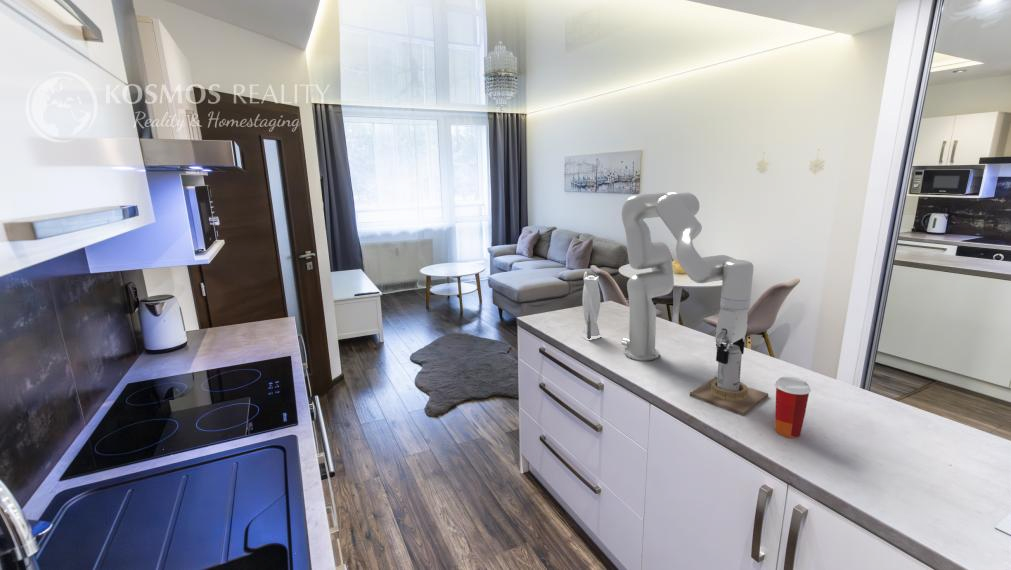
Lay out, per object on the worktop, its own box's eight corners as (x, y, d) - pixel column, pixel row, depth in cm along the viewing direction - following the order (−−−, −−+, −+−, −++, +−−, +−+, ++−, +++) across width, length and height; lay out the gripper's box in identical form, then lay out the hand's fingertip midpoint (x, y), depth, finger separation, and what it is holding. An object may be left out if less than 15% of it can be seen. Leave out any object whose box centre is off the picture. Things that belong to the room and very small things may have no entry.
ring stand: (689, 395, 135) (690, 385, 134) (715, 379, 145) (716, 369, 144) (743, 415, 123) (744, 404, 122) (768, 396, 132) (769, 385, 131)
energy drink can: (738, 399, 130) (741, 351, 126) (715, 395, 132) (718, 349, 129) (739, 390, 135) (742, 344, 131) (717, 386, 138) (720, 342, 134)
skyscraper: (577, 335, 192) (576, 272, 185) (592, 331, 195) (592, 269, 188) (588, 340, 184) (588, 275, 178) (604, 337, 187) (604, 273, 181)
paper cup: (800, 426, 117) (806, 377, 113) (809, 442, 110) (815, 391, 106) (766, 422, 119) (771, 374, 116) (773, 437, 112) (778, 387, 109)
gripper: (735, 294, 135) (731, 346, 139) (707, 306, 125) (702, 362, 129) (762, 299, 129) (756, 353, 133) (734, 312, 119) (728, 370, 123)
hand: (729, 357), depth 131 cm, fingers open, 9 cm apart
